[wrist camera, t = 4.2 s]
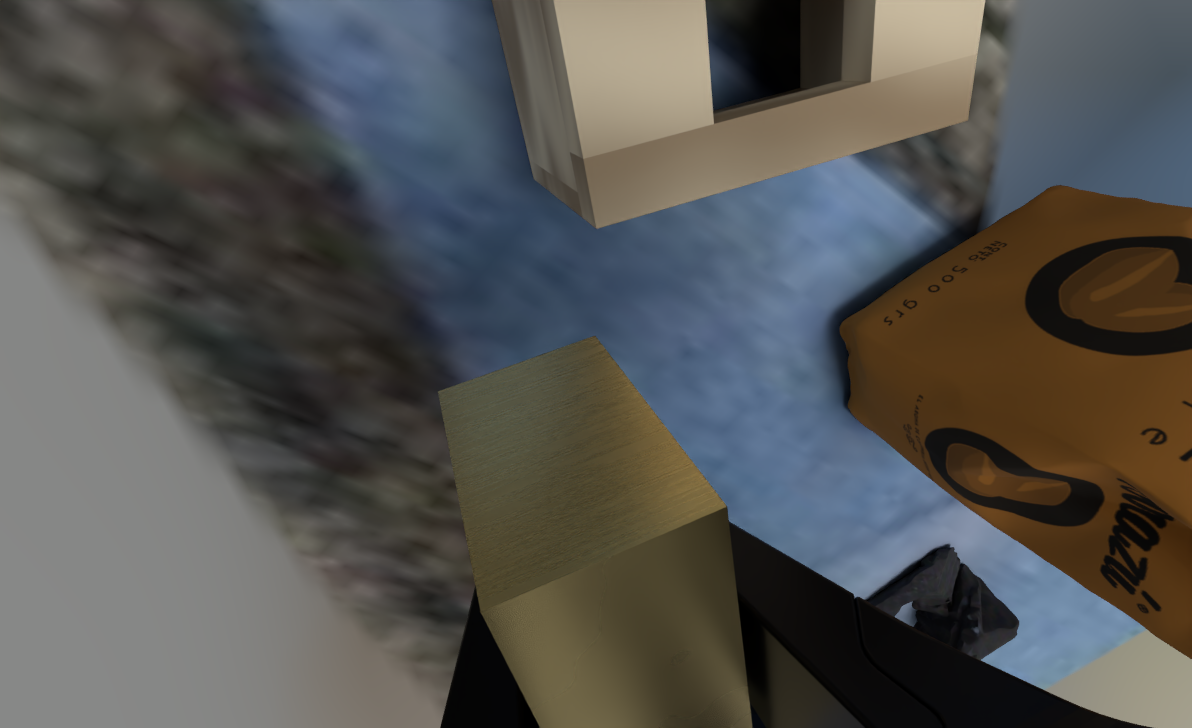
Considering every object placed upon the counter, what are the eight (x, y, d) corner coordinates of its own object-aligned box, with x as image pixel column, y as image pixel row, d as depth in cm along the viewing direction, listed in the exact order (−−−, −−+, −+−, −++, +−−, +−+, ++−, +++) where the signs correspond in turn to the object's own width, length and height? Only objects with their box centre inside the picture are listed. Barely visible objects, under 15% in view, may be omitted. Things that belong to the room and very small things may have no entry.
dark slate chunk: (661, 722, 35) (697, 806, 31) (957, 521, 36) (1029, 580, 32) (739, 795, 44) (776, 869, 40) (978, 632, 44) (1037, 689, 40)
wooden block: (652, 578, 12) (758, 778, 9) (540, 627, 12) (607, 858, 8) (594, 335, 9) (727, 506, 6) (437, 391, 9) (481, 613, 5)
